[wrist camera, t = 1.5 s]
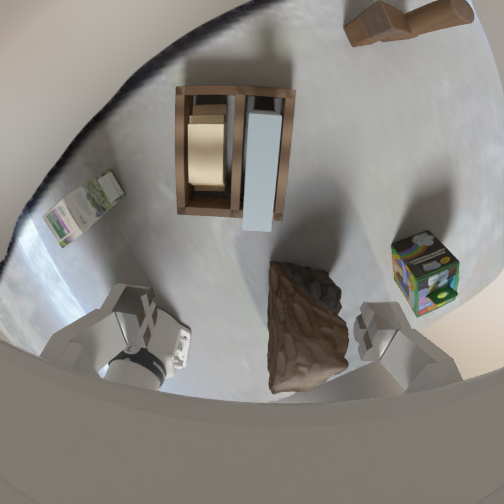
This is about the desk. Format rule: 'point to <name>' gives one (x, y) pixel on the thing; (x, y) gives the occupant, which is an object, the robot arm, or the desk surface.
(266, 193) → the tall sheet
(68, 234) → the syrup box
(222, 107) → the long pine offcut
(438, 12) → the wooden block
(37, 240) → the desk surface
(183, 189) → the walnut rack
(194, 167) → the short pine offcut
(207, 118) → the middle pine offcut
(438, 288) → the chalk box
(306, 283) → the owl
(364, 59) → the desk surface
